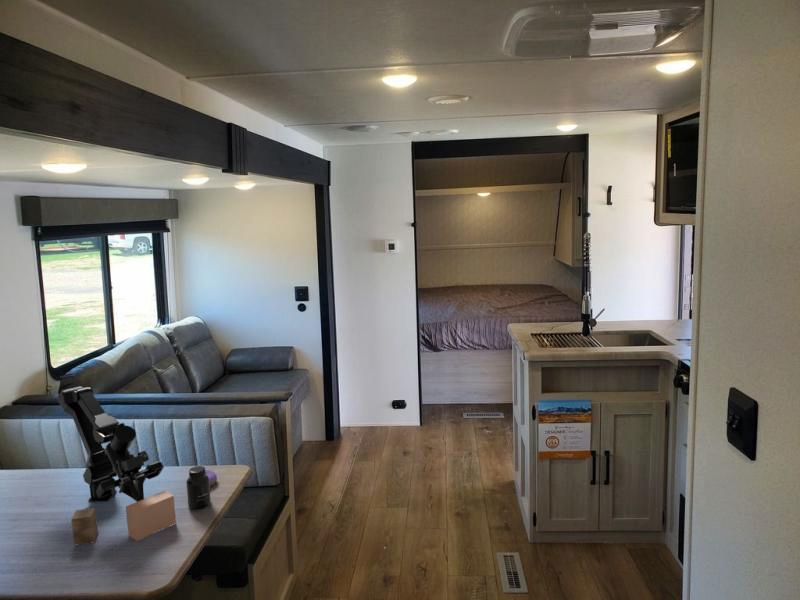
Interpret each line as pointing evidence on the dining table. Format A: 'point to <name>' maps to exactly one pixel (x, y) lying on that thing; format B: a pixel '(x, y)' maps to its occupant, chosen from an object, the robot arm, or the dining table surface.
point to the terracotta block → (150, 515)
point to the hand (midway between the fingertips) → (142, 503)
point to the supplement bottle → (198, 488)
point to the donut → (211, 477)
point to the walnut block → (84, 526)
